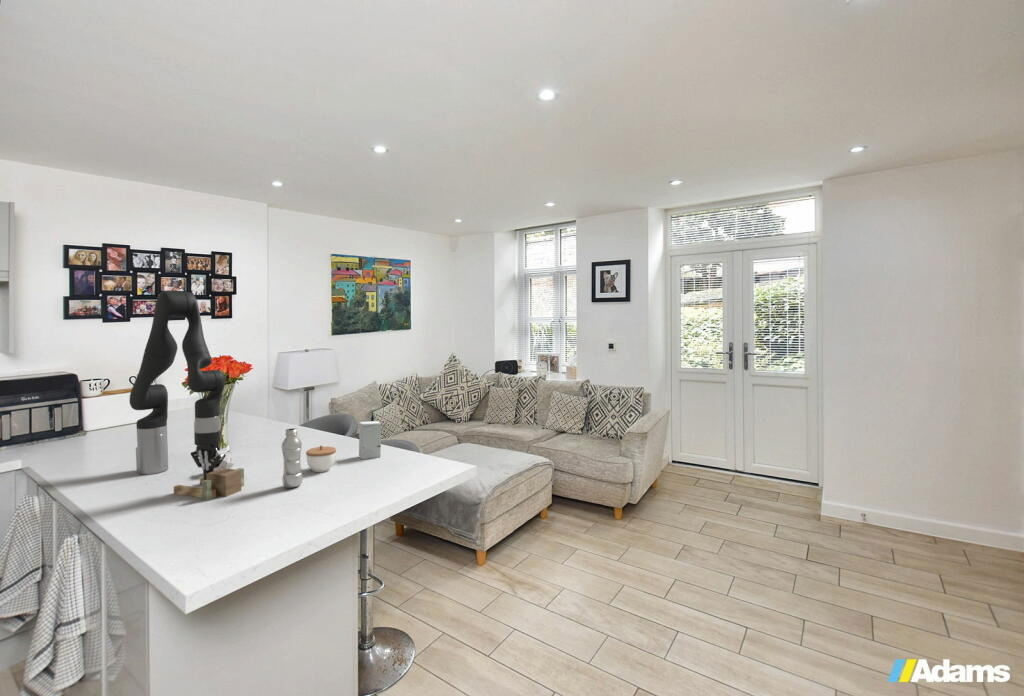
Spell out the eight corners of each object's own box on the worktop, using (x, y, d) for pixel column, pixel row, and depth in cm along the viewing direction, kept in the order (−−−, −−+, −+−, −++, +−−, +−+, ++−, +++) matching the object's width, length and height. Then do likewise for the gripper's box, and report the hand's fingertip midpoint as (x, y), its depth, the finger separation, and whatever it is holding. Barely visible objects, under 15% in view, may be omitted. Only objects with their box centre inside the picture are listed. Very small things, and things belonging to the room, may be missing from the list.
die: (213, 480, 172) (231, 457, 175) (196, 467, 174) (214, 444, 176) (226, 481, 180) (243, 459, 183) (209, 469, 181) (226, 447, 184)
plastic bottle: (282, 491, 159) (281, 432, 158) (282, 485, 165) (280, 428, 164) (303, 488, 162) (302, 430, 161) (302, 482, 168) (300, 426, 167)
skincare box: (361, 459, 196) (360, 424, 195) (358, 456, 201) (358, 421, 200) (381, 457, 200) (381, 422, 199) (378, 453, 205) (378, 419, 204)
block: (207, 494, 156) (206, 473, 156) (222, 488, 162) (222, 468, 161) (226, 496, 154) (225, 475, 153) (241, 490, 160) (240, 470, 159)
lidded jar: (316, 475, 175) (315, 450, 175) (301, 470, 182) (300, 446, 181) (341, 468, 184) (341, 445, 183) (326, 464, 190) (326, 441, 190)
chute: (169, 495, 155) (168, 477, 155) (208, 481, 169) (207, 465, 168) (207, 500, 151) (206, 481, 150) (244, 485, 164) (243, 468, 164)
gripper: (181, 430, 157) (182, 481, 158) (213, 433, 153) (214, 486, 154) (202, 425, 164) (203, 474, 165) (232, 428, 160) (233, 478, 161)
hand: (208, 480), depth 159 cm, fingers closed
